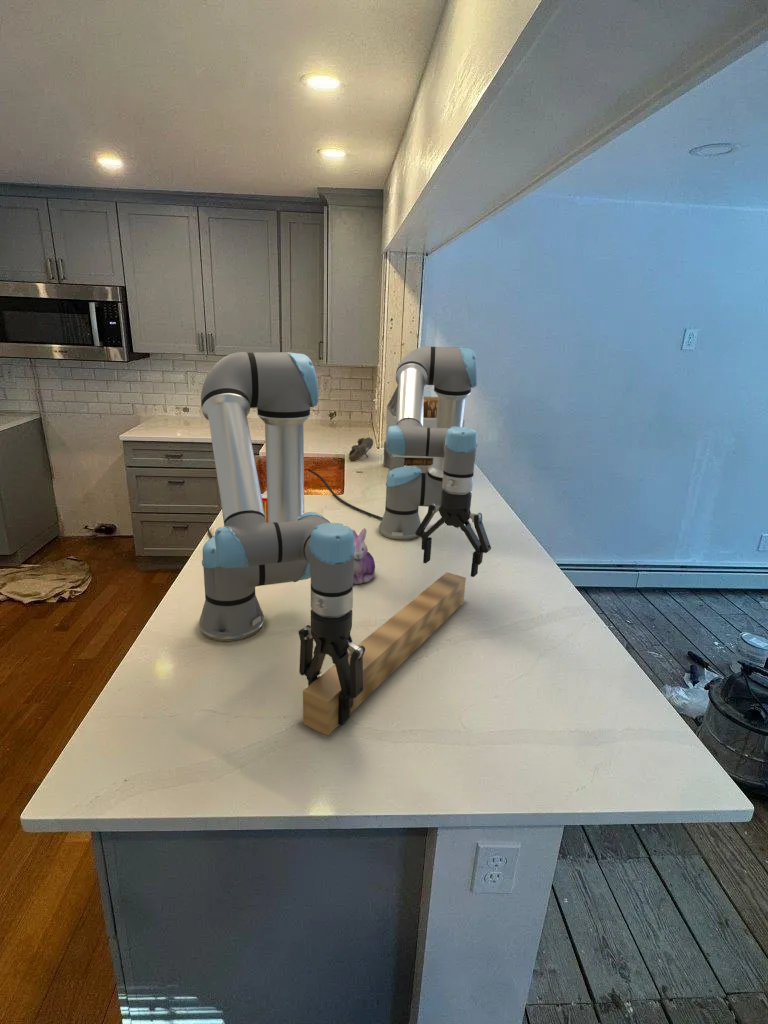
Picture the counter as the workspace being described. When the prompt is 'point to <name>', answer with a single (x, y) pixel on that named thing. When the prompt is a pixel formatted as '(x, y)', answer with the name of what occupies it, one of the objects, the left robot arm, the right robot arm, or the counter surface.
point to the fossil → (360, 449)
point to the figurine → (362, 560)
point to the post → (385, 650)
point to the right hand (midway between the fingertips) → (449, 568)
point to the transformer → (428, 422)
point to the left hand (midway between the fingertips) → (330, 714)
